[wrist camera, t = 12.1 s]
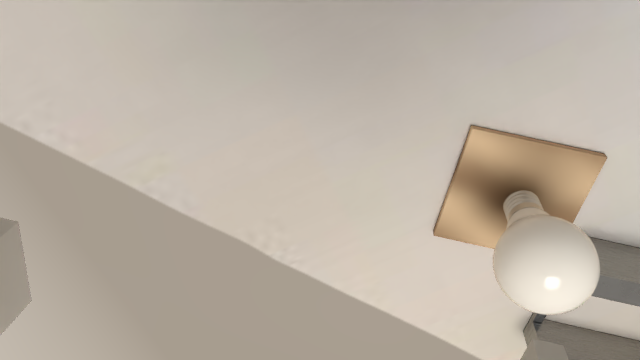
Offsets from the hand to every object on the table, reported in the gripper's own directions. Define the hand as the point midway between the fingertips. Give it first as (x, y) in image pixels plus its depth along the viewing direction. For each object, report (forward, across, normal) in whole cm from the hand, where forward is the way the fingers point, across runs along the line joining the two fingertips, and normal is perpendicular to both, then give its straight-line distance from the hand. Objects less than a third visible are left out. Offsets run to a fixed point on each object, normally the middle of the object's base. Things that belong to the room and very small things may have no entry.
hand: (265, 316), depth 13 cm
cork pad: (+27, +15, -9) cm, 32 cm away
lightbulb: (+26, +15, -9) cm, 32 cm away
